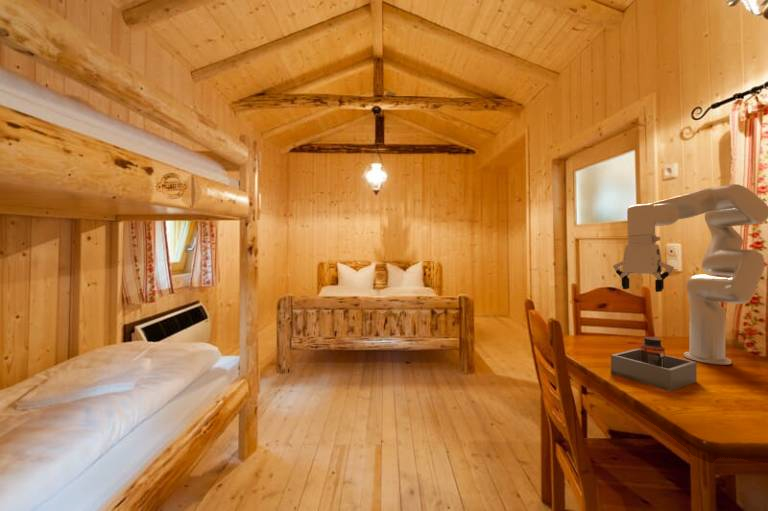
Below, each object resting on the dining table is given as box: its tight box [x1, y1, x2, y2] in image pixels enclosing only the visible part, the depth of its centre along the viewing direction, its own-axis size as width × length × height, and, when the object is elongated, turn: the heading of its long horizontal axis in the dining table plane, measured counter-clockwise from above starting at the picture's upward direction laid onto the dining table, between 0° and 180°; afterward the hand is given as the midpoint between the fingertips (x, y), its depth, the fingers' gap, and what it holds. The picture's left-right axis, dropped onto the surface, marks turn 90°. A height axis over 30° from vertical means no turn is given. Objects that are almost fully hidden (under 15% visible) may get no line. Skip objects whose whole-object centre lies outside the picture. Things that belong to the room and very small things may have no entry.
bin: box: [610, 348, 698, 392], centre depth 105 cm, size 16×16×6 cm
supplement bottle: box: [640, 336, 666, 368], centre depth 105 cm, size 6×6×11 cm
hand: (641, 290), depth 114 cm, fingers open, 9 cm apart
